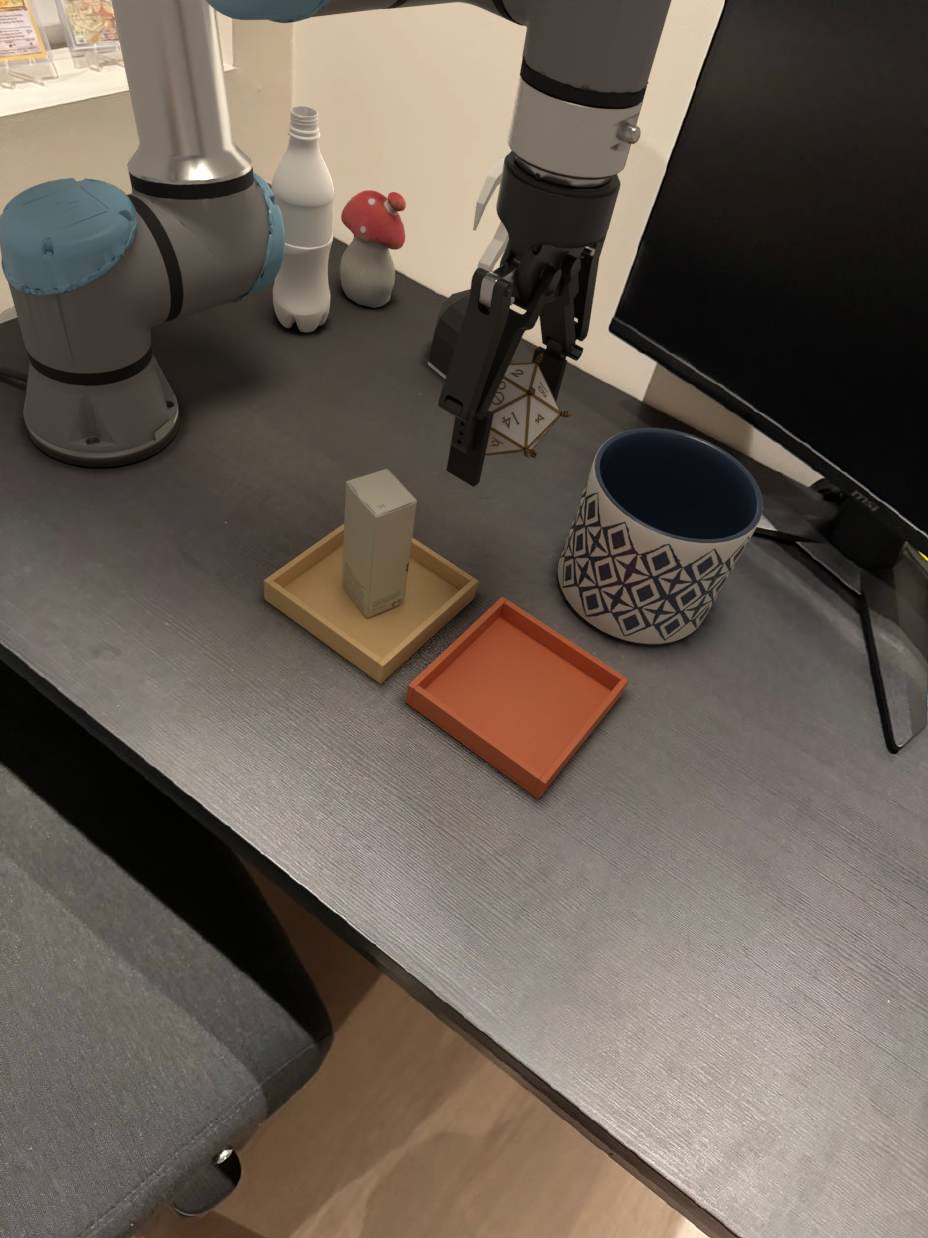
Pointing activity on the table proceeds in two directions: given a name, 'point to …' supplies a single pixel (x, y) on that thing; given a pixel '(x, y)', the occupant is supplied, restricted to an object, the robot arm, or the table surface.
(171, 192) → the robot arm
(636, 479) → the planter
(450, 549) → the table surface
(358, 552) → the box
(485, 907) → the table surface
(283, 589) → the birch tray
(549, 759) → the terracotta tray
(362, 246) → the decorative ornament
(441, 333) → the hook
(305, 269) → the water bottle
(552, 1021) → the table surface
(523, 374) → the game die
